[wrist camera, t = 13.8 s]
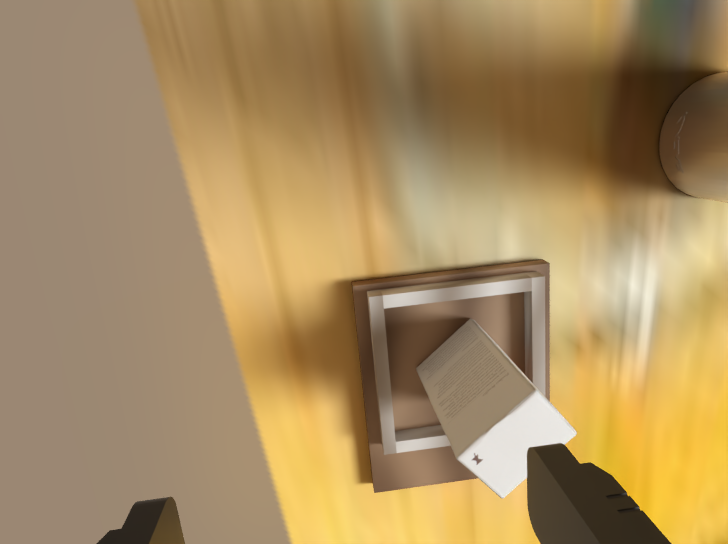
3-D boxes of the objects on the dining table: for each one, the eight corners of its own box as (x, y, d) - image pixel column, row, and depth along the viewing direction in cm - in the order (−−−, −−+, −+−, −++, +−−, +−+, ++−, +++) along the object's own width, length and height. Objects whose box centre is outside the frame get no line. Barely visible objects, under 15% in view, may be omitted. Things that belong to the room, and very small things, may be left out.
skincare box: (449, 401, 42) (500, 503, 30) (413, 367, 41) (453, 459, 29) (506, 350, 41) (581, 435, 30) (471, 314, 40) (535, 387, 28)
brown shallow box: (542, 259, 41) (558, 268, 38) (543, 459, 45) (557, 479, 43) (351, 281, 40) (354, 292, 37) (372, 483, 44) (376, 505, 42)
